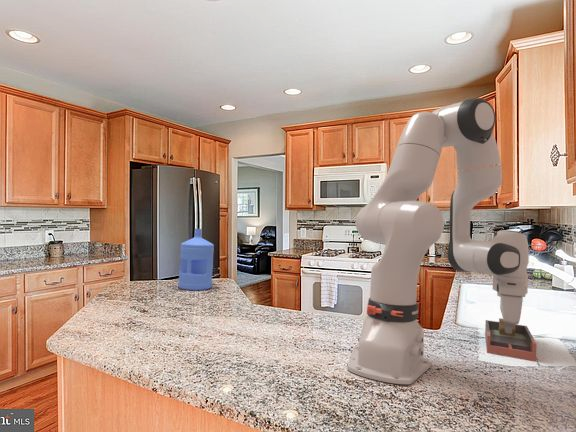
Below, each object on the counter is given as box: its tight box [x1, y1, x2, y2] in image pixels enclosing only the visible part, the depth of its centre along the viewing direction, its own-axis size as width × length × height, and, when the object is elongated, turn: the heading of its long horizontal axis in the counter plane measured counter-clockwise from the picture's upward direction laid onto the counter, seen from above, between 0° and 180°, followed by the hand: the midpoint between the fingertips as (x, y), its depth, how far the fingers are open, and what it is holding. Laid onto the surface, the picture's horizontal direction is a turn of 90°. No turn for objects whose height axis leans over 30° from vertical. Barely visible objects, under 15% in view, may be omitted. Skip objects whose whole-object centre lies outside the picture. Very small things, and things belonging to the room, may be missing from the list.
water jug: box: [177, 228, 215, 291], centre depth 172 cm, size 16×16×28 cm
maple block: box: [498, 317, 515, 337], centre depth 109 cm, size 4×4×4 cm
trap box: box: [484, 319, 538, 362], centre depth 104 cm, size 20×11×4 cm, turn 153°
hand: (508, 332), depth 106 cm, fingers closed
